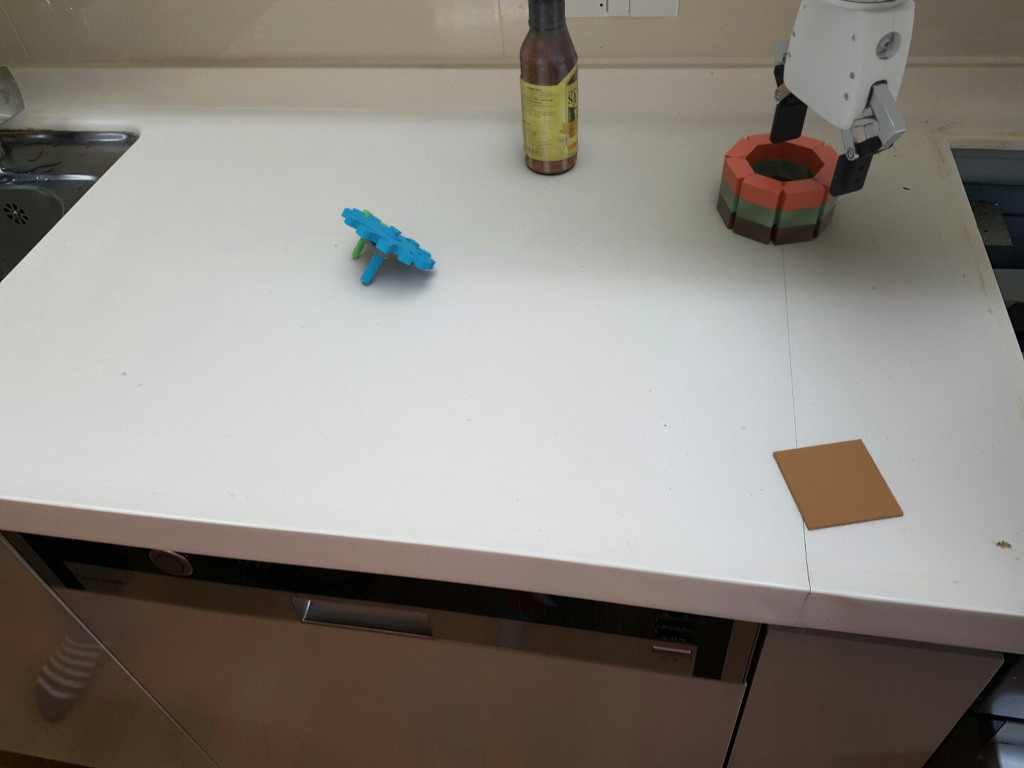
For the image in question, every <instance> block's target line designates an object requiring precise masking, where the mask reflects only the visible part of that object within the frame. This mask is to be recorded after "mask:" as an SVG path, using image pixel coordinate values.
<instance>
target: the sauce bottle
mask: <svg viewBox="0 0 1024 768" xmlns="http://www.w3.org/2000/svg"><path fill="white" fill-rule="evenodd" d="M527 4H528V7H527V8H528V20H527V23H528V28H529V29H528V31H527V34H526V35H525V37H524V39H523V41H522V42H521V46H520V49H519V68H520V75H519V86H520V88H519V89H520V102H521V103H520V105H521V117H522V118H521V120H522V121H521V123H522V124H521V125H522V136H523V137H522V138H523V151H524V153H525V157H524V158H525V164H526V165H527V166H528V168H529V169H531V170H533V171H534V172H536V173H540V174H543V175H544V174H546V175H548V174H550V175H551V174H560V173H563V172H566V171H568V170H569V169H571V168H572V167H573V166H574V165H575V164H576V161H577V159H578V158H577V156H578V150H579V62H578V61H579V57H578V54H577V51H576V48H575V45H574V43H573V40H572V38H571V34H570V32H569V27H568V25H567V20H566V19H567V17H566V0H527Z"/></svg>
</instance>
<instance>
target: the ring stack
mask: <svg viewBox="0 0 1024 768" xmlns="http://www.w3.org/2000/svg"><path fill="white" fill-rule="evenodd" d="M751 168H752V169H753V171H754V173H755V174H759V175H762V176H765V177H768V178H772V179H775V180H778V181H781V182H789V181H797V180H805V179H812V178H814V177H815V174H814V173H813V172H812V170H811V169H810V168H809V166H805V165H802V164H799V163H795V162H792V161H788V160H785V159H782V158H781V159H773V160H765V161H757V162H754V163H753V164H752V165H751ZM719 184H720V185H719V189H718V190H719V191H718V196H717V197H718V198H717V203H716V210H717V212H718V214H719V215H720V217H721V219H722V220H723V222H724V224H725V226H726V229H729V230H730V229H732V233H734V234H736V235H740V236H742V237H745V238H747V239H750V240H753V241H756V242H760V243H762V244H765V245H769V244H770V242H772V243H773V245H775V246H778V245H786V244H787V245H788V244H794V243H802V242H807V241H808V242H810V241H812V239H813V238H817V239H818V238H819V236H820V235H821V234H822V232H823V231H824V229H825V228H826V227H827V226H828V224H829V223H830V222H831V221H832V219H833V216H834V212H835V208H836V205H837V202H838V198H839V196H837V197H833V196H832V197H831V199H830V200H829V201H828V202H827V204H825V203H821V206H820V207H813V208H805V209H798V210H790V211H782V209H781V208H780V206H779V207H778V208H777V209H776V210H771V209H768V208H765V207H762V206H759V205H756V204H753V203H750V202H747V201H744V200H741V199H739V196H740V195H734V194H733V193H732V191H731V189H730V188H729V186H728V184H727V183H726V181H725V179H724V178H723V176H722V175H721V178H720V183H719Z"/></svg>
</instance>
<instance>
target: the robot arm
mask: <svg viewBox="0 0 1024 768" xmlns="http://www.w3.org/2000/svg"><path fill="white" fill-rule="evenodd" d="M915 9H916V2H915V1H914V0H801V3H800V6H799V9H798V12H797V15H796V18H795V21H794V25H793V28H792V31H791V35H790V37H787V38H783V39H779V40H775V41H774V43H773V54H774V64H776V65H775V66H774V68H773V76H774V80H775V83H776V87H777V88H776V89H775V90H774V92H773V97H774V100H775V101H776V102H777V103H776V105H775V110H774V115H773V119H772V124H771V128H770V132H769V133H770V138H769V140H770V141H771V142H772V143H773V144H777V143H781V142H785V141H789V140H793V139H797V138H799V137H800V136H801V135H802V133H803V129H804V125H805V121H806V116H807V111H808V107H809V108H810V109H811V110H813V112H815V113H816V114H818V115H819V116H820V117H822V118H823V119H824V120H826V122H828V123H829V124H831V125H833V127H835V128H837V129H840V132H841V138H842V142H843V147H844V153H842V154H838V155H839V157H838V160H837V164H836V167H835V171H834V174H833V178H832V181H831V185H830V188H829V193H830V194H831V195H832V196H833V197H837V196H838V197H840V196H844V195H847V194H851V193H855V192H859V191H861V190H862V189H863V187H864V185H865V182H866V179H867V176H868V173H869V170H870V167H871V164H872V160H873V158H874V156H876V155H879V154H881V153H882V152H884V151H887V150H889V149H891V148H892V147H893V146H894V143H896V142H897V141H898V139H899V138H900V137H901V136H902V135H904V134H905V132H906V131H907V130H908V123H907V121H906V119H905V117H904V116H903V114H902V111H901V109H900V107H899V106H898V104H897V99H898V96H899V93H900V89H901V85H902V81H903V78H904V73H905V69H906V66H907V61H908V58H909V57H908V56H909V53H910V46H911V41H912V37H913V36H912V35H913V28H914V20H915ZM861 113H862V117H860V115H861ZM859 117H860V118H859ZM860 127H863V131H864V137H865V139H864V140H863V141H862V140H861V141H860V142H859V138H858V133H857V128H860Z"/></svg>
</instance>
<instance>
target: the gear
mask: <svg viewBox="0 0 1024 768" xmlns="http://www.w3.org/2000/svg"><path fill="white" fill-rule="evenodd" d="M340 216H341V217H342V218H344V220H343V223H344V224H345V225H347V226H348V227H349V228H352V229H354V230H355V233H356V235H357V236H358V237H359V240H358V242H357V243H356V245H355V247H354V249H353V250H352V252H351V256H352V257H353V258H355V259H358V258H359V257H360V255H361V253H362V252H363V250H364V248H365V246H366V244H367V246H368V247H369V249H371V250H372V252H373V253H374V254H373V256H372V257H371V259H370V261H369V263H368V264H367V266H366V268H365V269H364V272H363V273H362V274H361V277H360V278H359V279H360V281H362V282H363V283H364V284H366V285H370V284H371V282H372V280H373V278H374V277H375V275H376V274H377V272H378V270H379V268H380V267H381V265H382V263H383V262H384V261H385V260H388V259H389V257H390V256H391V254H392V253H394V254H395V255H397V260H398V261H399V262H401V263H403V264H405V265H407V266H409V267H410V266H411V264H412V263H414V266H415V267H416V268H417V269H419V270H421V271H424V272H427V271H428V270H432V269H433V268H434V266H435V265H436V263H437V261H436V260H434V259H433V258H432V253H431V252H429V251H427V250H426V249H423V248H421V247H420V246H421V244H420V243H418V242H417V241H416V240H414V239H413V238H411V237H406V236H404V235H402V233H403V232H402V231H401V230H400V229H398V228H396V227H395V226H393V225H390V226H389V225H388V224H387V223H384V222H383V221H382V220H381V219H380V218H379V217H377V216H375V215H374V214H373V213H372V212H371V211H370V210H368V209H365V208H364V209H363V211H362V210H361V209H358V208H355V207H353V208H349V207H345V208H344V209H343V211H342V212H341V214H340Z"/></svg>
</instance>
